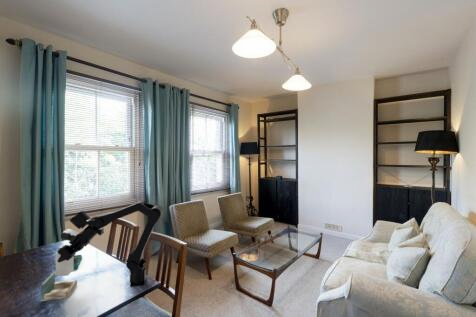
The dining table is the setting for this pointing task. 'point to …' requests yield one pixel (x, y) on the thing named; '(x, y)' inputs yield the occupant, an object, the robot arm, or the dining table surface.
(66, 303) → the dining table surface
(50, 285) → the tray
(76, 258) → the digital multimeter
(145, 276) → the robot arm
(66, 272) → the connector plug
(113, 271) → the dining table surface
